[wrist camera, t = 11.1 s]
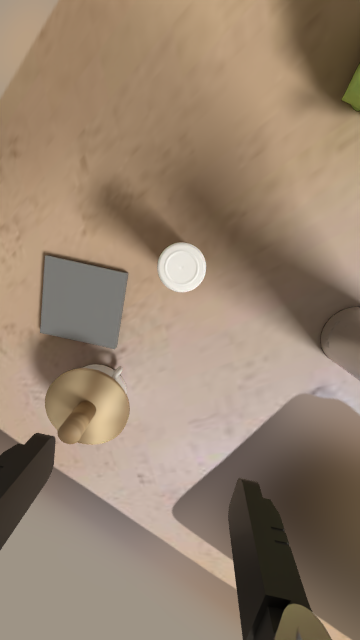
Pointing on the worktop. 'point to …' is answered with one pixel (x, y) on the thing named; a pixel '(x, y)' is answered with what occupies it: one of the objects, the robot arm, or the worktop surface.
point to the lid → (87, 406)
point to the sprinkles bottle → (181, 267)
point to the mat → (82, 301)
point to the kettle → (354, 91)
